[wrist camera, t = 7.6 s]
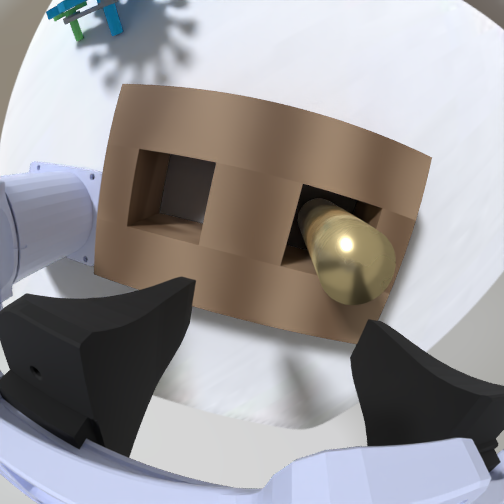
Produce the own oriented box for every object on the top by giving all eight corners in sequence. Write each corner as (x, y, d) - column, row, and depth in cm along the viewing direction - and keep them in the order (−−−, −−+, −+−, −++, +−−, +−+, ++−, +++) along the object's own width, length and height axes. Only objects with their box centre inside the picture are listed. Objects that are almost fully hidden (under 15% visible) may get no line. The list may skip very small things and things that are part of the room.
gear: (185, -45, 12) (110, -32, 7) (194, 8, 17) (131, 43, 12) (89, -12, 14) (14, 26, 9) (102, 30, 19) (36, 76, 14)
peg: (292, 235, 20) (307, 296, 10) (303, 193, 19) (331, 216, 9) (333, 245, 20) (379, 311, 10) (344, 204, 19) (406, 238, 9)
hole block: (128, 252, 21) (93, 274, 16) (155, 100, 18) (122, 84, 13) (349, 309, 21) (365, 345, 16) (397, 158, 17) (431, 157, 13)
